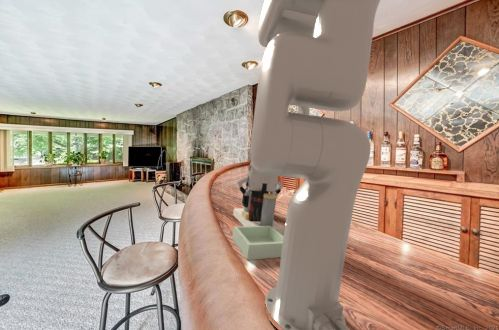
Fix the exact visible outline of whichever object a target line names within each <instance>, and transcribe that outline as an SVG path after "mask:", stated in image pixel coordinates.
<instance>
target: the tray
mask: <svg viewBox="0 0 499 330" xmlns="http://www.w3.org/2000/svg"><path fill="white" fill-rule="evenodd" d="M283 238H284V236H282V235H281V234H280V233H279V232H277V231H276V230H275V229H274V228H273V227H271V226H243V225H242V226H241V225H239V226H236V225H235V226H233V230H232V238H231V239H232V241H233V242H234V244H235V245H236V246H237V248H238V249H239V251H240V252H241V253H242V255H243V256H244V258H245V259H246V260H247V261H251V260H263V259H274V258H281V253H282V245H283Z"/></svg>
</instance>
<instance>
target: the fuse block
mask: <svg viewBox="0 0 499 330" xmlns="http://www.w3.org/2000/svg"><path fill="white" fill-rule="evenodd" d="M248 196H249V203H248V207H247V208H246V207H244V206H243V208H242V207H241V208H240V207H239V208H238V207H237V208H235V207H234V208H233V213H232V215H233V216H234V218H236V219H237V221H239V223H241V224H242V226H271V227H273V228H274V229H275V230H276V231H277V232H279V233H280V234H281V235H282V236H284V231H285V227H283V225H281V224H279V223H278V222H277V221H276V220H274V219H275V218H274V217H275V211H276V205H277V198H278V195H275V194H270V192H269V193H264V195H263V197H264V198H263V205H262V213H261V221H256V222H250V221H249V220H248V218H249V207H250V199H251V192H250V193H249V194H248Z"/></svg>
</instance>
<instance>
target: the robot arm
mask: <svg viewBox="0 0 499 330" xmlns="http://www.w3.org/2000/svg"><path fill="white" fill-rule="evenodd" d="M380 1H381V0H264V2H263V6H262V10H261V13H260V19H259V22H258V23H259V24H258V29H257V30H258V32H257V33H258V35H257V37H258V43H259V44H260V46H261V47H264V48H266V49H265V50H264V54H263V57H262V59H261V64H260V69H259V74H258V82H257V90H256V99H255V105H254V106H255V107H254V114H253V122H252V131H251V140H250V154H249V157H250V164H249V167H248V170H247V175H246V176H245V177H244V178H241V179H239V180H237V181H236V184H237V188H238V190H239V191H240V192H241V194H242V198H241V199H242V200H241V204H242V206H243V208H244V207H246V208H247V207H248V203H249V196H248V194H249V193H250V192H251V191H261V190H262V185H263V183H264V184H267V190H266V191H268V192H269V193H270V194H275V195H277V196H278V195H279V194H280V193H281V191H282V189H283V188H284V186H285V185H284V183H282V182H280V181H279V180H278V177H284V178H294V179H302V180H304V181H303V182H302V184H301V185H300V186H299V187H298V188H297V189H296V191H295V192H294V193H293V195H292V196H291V198H290V199H289V202H288V205H287V210H286V211H287V212H286V217H285V224H284V226H285V227H284V228H285V231H284V238H283V245H282V253H281V257H280V260H279V261H280V262H279V267H278V276H277V283H276V286H273V288H271V289H270V290H268V292H267V294H266V296H265V300H264V305H265V304H266V307H267V309H268V311H269V313H270V314H271V317H272V318H273V319H274V320H275V321H276V322H277V323H278V325H279V326H280V328H282V329H283V330H351V329H350V328H349V327H348V326H347V324H346V318H345V316H344V313H343V311H344V306H343V305H342V304H341V303H340V302H339V297H340V290H341V284H342V278H343V272H344V267H345V260H346V252H347V247H348V242H349V241H348V240H349V234H350V228H351V223H352V219H353V211H354V208H355V202H356V198H357V195H358V191H359V187H360V184H361V181H362V179H363V176H364V174H365V171H366V169H367V167H368V163H369V160H370V157H371V156H370V155H371V142H370V139H369V136H368V134H367V133H366V132H365V131H364V130H363V129H362V128H361V127H360V126H358V125H357V124H355V123H353V122H350V121H347V120H344V119H339V118H332V117H327V116H320V115H313V114H312V115H311V114H310V111H311V110H310V109H316V110H322V111H328V112H345V111H349V110H351V109H354V107H356V106H357V105H358V104H359V103H360V101H361V100H362V98H363V96H364V93H365V90H366V85H367V80H368V74H369V69H370V68H369V67H370V66H369V65H370V59H371V52H372V42H373V34H374V24H375V17H376V13H377V10H378V7H379V4H380ZM290 106H296V107H297V108H298V110H297V112H292V111H289V107H290ZM244 184H245V187H244Z"/></svg>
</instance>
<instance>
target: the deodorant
mask: <svg viewBox="0 0 499 330" xmlns="http://www.w3.org/2000/svg"><path fill="white" fill-rule="evenodd" d="M266 190H267V184H264V183H263V185H262V190H261V191H251V199H250V207H249V218H248V220H249V221H250V222H256V221H261V213H262V205H263V198H264V197H263V195H264V193H270V192H268V191H266Z"/></svg>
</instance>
